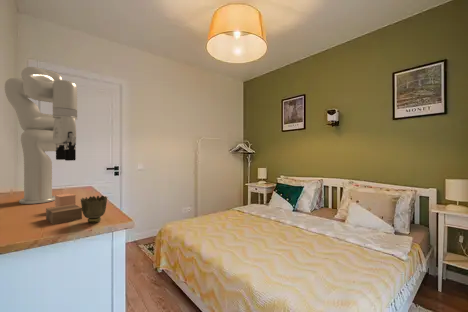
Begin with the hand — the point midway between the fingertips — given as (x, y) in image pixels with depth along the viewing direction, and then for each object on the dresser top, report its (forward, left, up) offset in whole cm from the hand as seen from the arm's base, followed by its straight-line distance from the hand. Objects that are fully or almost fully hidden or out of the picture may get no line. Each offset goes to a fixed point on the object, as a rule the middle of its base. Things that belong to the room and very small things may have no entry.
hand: (65, 160), depth 89 cm
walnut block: (+12, -4, -20) cm, 23 cm away
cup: (+23, +1, -20) cm, 30 cm away
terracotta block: (0, 0, -19) cm, 19 cm away
